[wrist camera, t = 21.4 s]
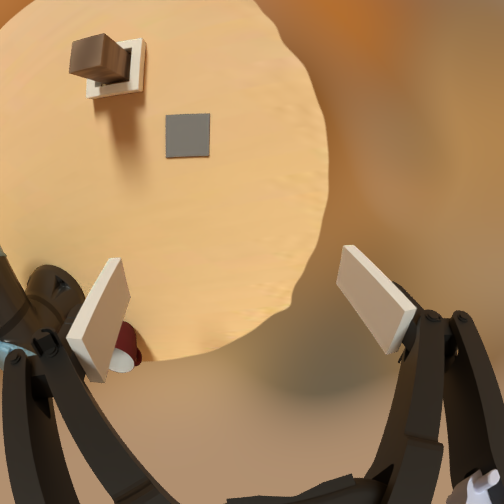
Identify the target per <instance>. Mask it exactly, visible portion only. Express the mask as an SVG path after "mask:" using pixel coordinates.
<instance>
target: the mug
mask: <svg viewBox="0 0 504 504" xmlns="http://www.w3.org/2000/svg"><path fill="white" fill-rule="evenodd" d="M141 361H142V355H141V352H140V350H139V349H138V348H137V347H136V335H135V332H134V330H133V327H132V326H131V325H130V324H129V323H127V322H124V321H122V325H121V328H120V331H119V334H118V337H117V341H116V344H115V347H114V351H113V354H112V358H111V362H110V365H109V369H110V370H112V371H115V372H120V373H126V372H129V371H131V370H132V369H133V368H134V366H138V365H139V364H140V363H141Z"/></svg>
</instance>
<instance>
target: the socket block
mask: <svg viewBox="0 0 504 504" xmlns="http://www.w3.org/2000/svg"><path fill="white" fill-rule="evenodd" d="M116 43H117V44H118V45H119V46H121V47H122V48H123V49H124V50H125V51H127V52H128V53H132V54H131V66H130V81H129V82H123V83H117V84H111V85H106V86H101V84H102V83H99V82H96V81H93V80H90V79H87V87H86V98H88V99H97V98H102V97H108V96H114V95H120V94H127V93H134V92H142V91H143V77H144V62H145V50H146V42H145V41H144V39H143V38H138V39H131V40H126V41H120V42H116Z"/></svg>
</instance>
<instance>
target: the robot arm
mask: <svg viewBox="0 0 504 504" xmlns="http://www.w3.org/2000/svg"><path fill="white" fill-rule="evenodd" d="M6 257H7V255H6V254H5V253H4V252H3V250H2V248H1V246H0V368H1V370H3V389H2V417H3V435H4V446H5V454H6V461H7V467H8V473H9V479H10V483H11V488H12V492H13V496H14V500H15V504H80V503H79V500H78V498H77V495H76V492H75V490H74V487H73V484H72V481H71V478H70V475H69V472H68V468H67V465H66V462H65V458H64V454H63V450H62V447H61V442H60V438H59V434H58V429H57V424H56V419H55V412H54V406H53V399H52V397H54V399H55V401H56V403H57V406H58V408H59V410H60V413H61V415H62V417H63V419H64V421H65V423H66V425H67V427H68V429H69V431H70V433H71V435H72V437H73V439H74V440H75V442H76V444H77V446H78V448H79V449H80V451H81V453H82V454H83V456H84V458H85V459H86V461H87V463H88V464H89V466H90V467H91V469H92V471H93V472H94V474H95V475H96V476H97V478H98V479H99V481H100V482H101V484H102V485H103V486H104V488H105V489H106V491H107V492H108V493H109V495H110V496H111V497H112V499H113V500H114V503H115V504H180V503H179V502H177V501H176V500H175V499H174V498H173V497H172V496H170V494H169V493H168V492H167V491H166V490H165V489H164V488H163V487H162V486H161V485H160V484H159V483H158V482H157V481H156V480H155V479H154V478H153V477H152V476H151V474H150V473H149V472H148V471H147V470H146V469H145V468H144V466H143V465H142V464H141V463H140V462H139V461H138V460H137V458H136V457H135V456H134V455H133V454H132V452H131V451H130V450H129V448H128V447H127V446H126V444H125V443H124V442H123V441H122V439H121V438H120V436H119V435H118V434H117V432H116V431H115V429H114V428H113V427H112V425H111V424H110V422H109V421H108V420H107V418H106V417H105V415H104V413H103V412H102V410H101V409H100V407H99V406H98V404H97V402H96V401H95V399H94V398H93V396H92V394H91V392H90V391H89V389H88V387H87V386H86V384H85V382H84V377H85V374H86V375H87V377H88V379H89V380H90V382H98V383H105V380H106V377H107V373H108V369H109V365H110V362H111V358H112V354H113V351H114V347H115V344H116V341H117V337H118V334H119V331H120V328H121V325H122V321H123V318H124V315H125V312H126V309H127V306H128V303H129V301H130V298H131V297H130V293H129V289H128V285H127V281H126V277H125V272H124V268H123V264H122V259H121V258H109V260H108V261H107V263H106V264H105V266H104V268H103V269H102V271H101V273H100V275H99V276H98V278H97V280H96V281H95V283H94V285H93V287H92V289H91V290H90V292H89V294H88V296H87V298H86V299H85V298H84V295H83V292H82V290H81V288H80V286H79V285H78V283H77V282H76V281H75V280H74V278H73V277H72V276H71V275H69V274H68V273H67V272H66V271H64V270H63V269H61V268H59V267H56V266H53V265H42V266H40V267H38V268H37V269H36V270H35V271H34V272H33V273H32V274H31V276H30V278H29V280H28V283H27V288H26V290H25V292H24V290H23V288H22V286H21V285H20V283H19V281H18V279H17V277H16V275H15V273H14V272H13V270H12V268H11V266H10V264H9V262H8V260H7V258H6ZM336 284H337V285H338V287H339V288H340V290H341V291H342V292H343V294H344V295H345V296H346V298H347V299H348V300H349V302H350V303H351V305H352V306H353V307H354V309H355V310H356V312H357V313H358V315H359V316H360V317H361V319H362V320H363V322H364V323H365V325H366V326H367V328H368V329H369V330H370V332H371V333H372V335H373V336H374V338H375V339H376V341H377V342H378V343H379V345H380V347H381V348H382V350H383V351H384V353H385V354H386V355H387V354H390V353H393V352H397V351H398V349H399V347H400V345H401V343H403V344H404V346H405V349H404V351H403V353H402V355H401V357H400V359H399V361H398V363H400V361H401V366H400V371H399V376H398V381H397V385H396V390H395V394H394V398H393V402H392V406H391V410H390V413H389V417H388V421H387V424H386V427H385V430H384V434H383V437H382V440H381V443H380V446H379V449H378V452H377V454H376V457H375V460H374V462H373V464H372V466H371V467H370V469H369V470H368V472H367V473H366V475H365V477H364V478H353V476H352V474H349V475H346V476H342V477H339V478H336V479H333V480H330V481H326V482H323V483H321V484H319V485H317V486H315V487H314V488H311V489H310V490H307V491H305V492H303V493H301V494H300V495H297V496H294V497H277V496H276V497H275V496H252V497H243V498H231V499H227V503H225V504H431V501H432V498H433V495H434V491H435V487H436V483H437V479H438V475H439V471H440V466H441V461H442V456H443V448H444V446H443V444H442V443H439V442H438V434H439V427H440V420H441V411H442V401H444V407H445V414H446V422H447V432H448V443H449V459H450V476H451V482H452V487H453V492H452V494H451V495H450V496H448V498H447V501H446V503H447V504H504V403H503V400H502V396H501V393H500V389H499V386H498V383H497V380H496V377H495V374H494V371H493V368H492V365H491V363H490V360H489V357H488V355H487V352H486V350H485V347H484V345H483V342H482V340H481V338H480V335H479V333H478V331H477V329H476V327H475V324H474V322H473V320H472V318H471V317H470V316H469V315H468V314H467V313H466V312H464V311H455V312H454V313H453V315H452V317H451V318H450V319H449V318H442V317H441V315H440V314H438V313H437V312H435V311H433V310H424V309H423V308H422V307H421V306H420V305H419V304H418V303H417V302H416V301H415V300H414V299H413V298H412V297H410V295H409V294H408V293H407V292H406V290H405V289H403V288H402V286H400V285H399V284H397V283H395V282H393V281H392V282H391V281H390V280H389V279H388V278H387V277H386V276H385V275H384V274H383V273H382V272H381V271H380V270H379V269H378V268H377V267H376V266H375V265H374V264H373V263H372V262H371V261H370V260H369V259H368V258H367V257H366V256H365V255H364V254H363V253H362V252H361V251H360V250H359V249H357V248H356V247H355V246H354V245H346V246H343V250H342V256H341V261H340V266H339V272H338V277H337V282H336ZM457 350H458V355H457Z"/></svg>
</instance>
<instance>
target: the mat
mask: <svg viewBox="0 0 504 504" xmlns="http://www.w3.org/2000/svg"><path fill="white" fill-rule="evenodd" d="M209 124H210V114H180V115H166V157H184V156H209Z"/></svg>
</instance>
